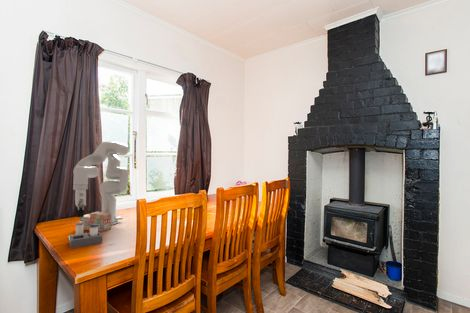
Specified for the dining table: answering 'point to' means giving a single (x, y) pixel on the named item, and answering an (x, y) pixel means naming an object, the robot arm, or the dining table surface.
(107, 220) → the stack of blocks
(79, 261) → the dining table surface
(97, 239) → the socket strip
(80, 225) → the plug
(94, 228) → the grey capped white peg
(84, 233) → the tray
